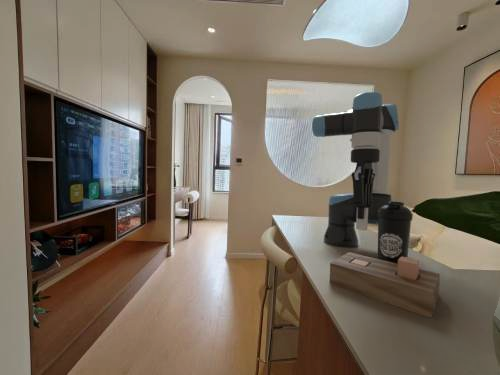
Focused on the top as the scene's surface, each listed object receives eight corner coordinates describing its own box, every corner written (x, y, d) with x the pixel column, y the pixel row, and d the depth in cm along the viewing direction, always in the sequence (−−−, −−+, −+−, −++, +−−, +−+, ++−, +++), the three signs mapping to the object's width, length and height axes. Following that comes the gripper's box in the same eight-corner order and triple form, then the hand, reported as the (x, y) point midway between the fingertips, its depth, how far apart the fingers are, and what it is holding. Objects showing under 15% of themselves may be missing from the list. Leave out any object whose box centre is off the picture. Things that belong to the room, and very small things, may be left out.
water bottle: (370, 269, 80) (374, 202, 79) (379, 261, 88) (382, 200, 87) (406, 278, 74) (410, 205, 72) (411, 269, 81) (415, 202, 80)
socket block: (347, 269, 80) (348, 252, 79) (438, 295, 63) (439, 273, 63) (329, 282, 70) (330, 262, 69) (431, 318, 53) (433, 292, 53)
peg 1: (354, 277, 73) (355, 258, 73) (368, 281, 71) (369, 262, 70) (349, 281, 70) (350, 262, 70) (363, 285, 68) (364, 266, 67)
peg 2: (400, 277, 65) (401, 256, 65) (417, 281, 62) (419, 260, 62) (396, 281, 62) (397, 260, 62) (415, 286, 59) (416, 264, 59)
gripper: (359, 151, 76) (356, 224, 77) (343, 147, 66) (339, 230, 68) (385, 150, 70) (381, 228, 72) (372, 145, 61) (367, 235, 62)
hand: (361, 229), depth 70 cm, fingers closed
